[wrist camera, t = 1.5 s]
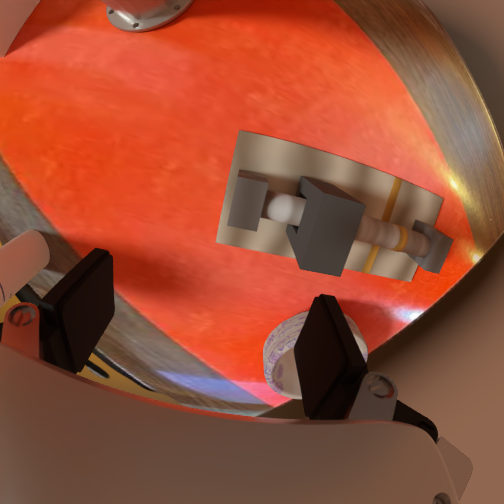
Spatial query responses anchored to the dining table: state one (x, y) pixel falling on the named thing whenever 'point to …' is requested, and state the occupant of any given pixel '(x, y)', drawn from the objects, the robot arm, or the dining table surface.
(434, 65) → the dining table surface
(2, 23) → the gable box
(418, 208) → the pipe rig
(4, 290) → the cylindrical container
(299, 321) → the paper bowls
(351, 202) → the collar
